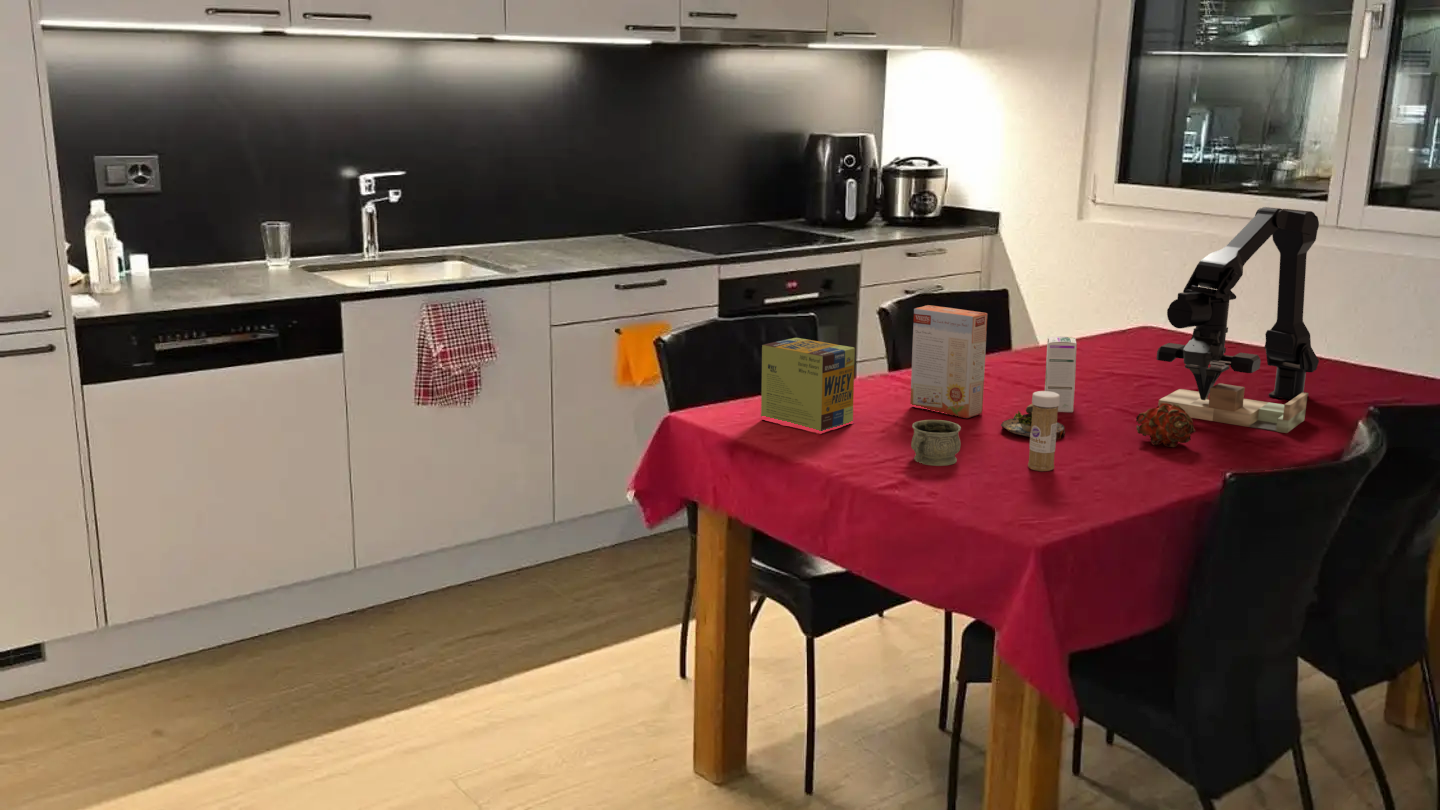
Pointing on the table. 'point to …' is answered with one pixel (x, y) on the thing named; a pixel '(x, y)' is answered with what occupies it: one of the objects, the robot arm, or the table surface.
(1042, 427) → the sprinkles bottle
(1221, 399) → the walnut block
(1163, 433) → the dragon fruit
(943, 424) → the vessel
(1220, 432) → the table surface
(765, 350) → the protein box
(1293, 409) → the trap deck
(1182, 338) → the table surface
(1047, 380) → the syrup box
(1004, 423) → the plate with green herbs
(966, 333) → the cracker box
